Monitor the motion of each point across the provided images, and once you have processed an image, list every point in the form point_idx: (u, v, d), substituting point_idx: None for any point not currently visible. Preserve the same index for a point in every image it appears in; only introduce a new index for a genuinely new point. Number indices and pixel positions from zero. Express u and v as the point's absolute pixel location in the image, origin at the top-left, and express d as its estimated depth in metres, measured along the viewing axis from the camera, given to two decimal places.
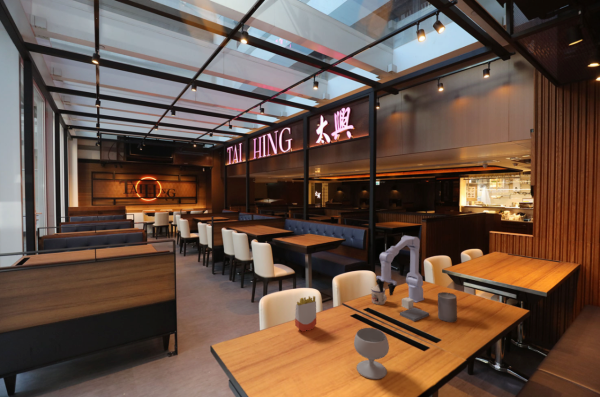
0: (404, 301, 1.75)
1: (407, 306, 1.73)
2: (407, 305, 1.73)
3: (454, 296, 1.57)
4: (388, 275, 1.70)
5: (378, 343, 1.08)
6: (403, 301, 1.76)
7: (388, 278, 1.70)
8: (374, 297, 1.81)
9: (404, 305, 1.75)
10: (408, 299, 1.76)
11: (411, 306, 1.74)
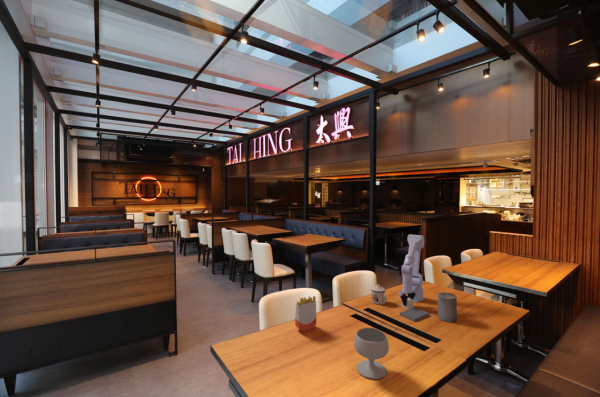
0: None
1: (407, 306, 1.73)
2: (407, 305, 1.73)
3: (454, 296, 1.57)
4: (403, 286, 1.75)
5: (378, 343, 1.08)
6: None
7: (403, 289, 1.76)
8: (374, 297, 1.81)
9: None
10: (408, 299, 1.76)
11: (411, 306, 1.74)
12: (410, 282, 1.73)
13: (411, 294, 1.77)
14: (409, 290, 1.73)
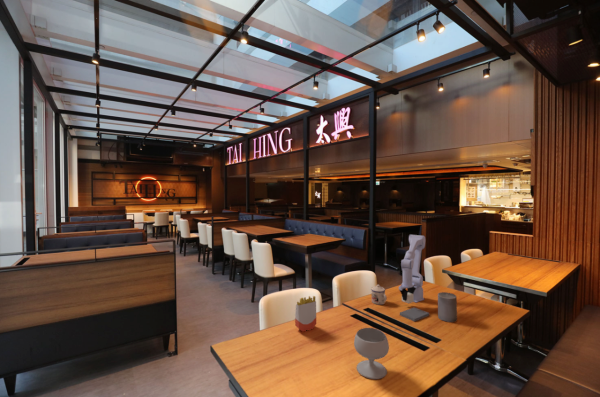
0: None
1: (407, 300, 1.73)
2: (407, 299, 1.73)
3: (454, 296, 1.57)
4: (403, 280, 1.75)
5: (378, 343, 1.08)
6: None
7: (403, 283, 1.76)
8: (374, 297, 1.81)
9: None
10: (408, 293, 1.76)
11: (411, 300, 1.74)
12: (410, 276, 1.73)
13: (411, 288, 1.77)
14: (409, 284, 1.73)
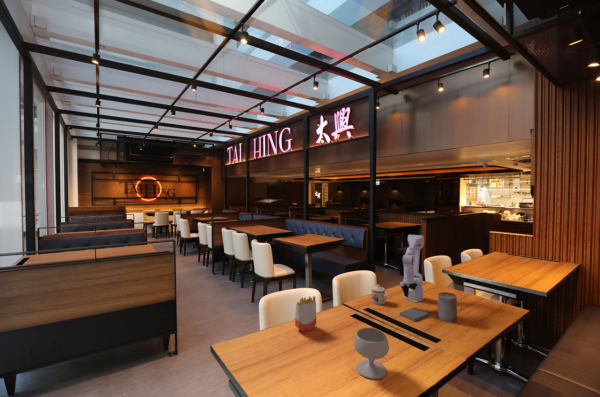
0: None
1: (408, 297, 1.70)
2: (408, 296, 1.70)
3: (454, 296, 1.57)
4: (404, 276, 1.72)
5: (378, 343, 1.08)
6: None
7: (404, 279, 1.73)
8: (374, 297, 1.81)
9: (405, 296, 1.72)
10: (409, 290, 1.73)
11: (412, 297, 1.71)
12: (412, 272, 1.70)
13: (413, 285, 1.73)
14: (410, 280, 1.70)
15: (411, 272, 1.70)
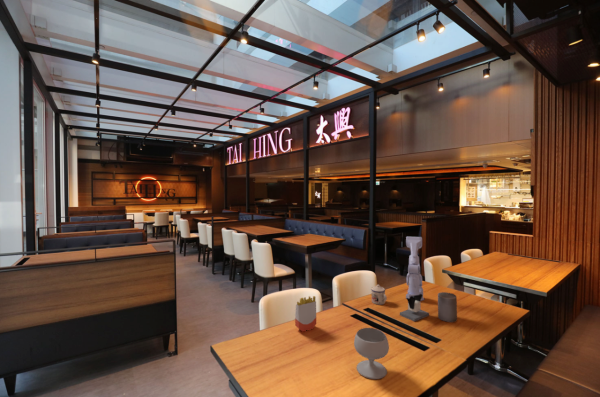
0: None
1: (414, 309, 1.61)
2: (414, 308, 1.61)
3: (454, 296, 1.57)
4: (410, 287, 1.63)
5: (378, 343, 1.08)
6: None
7: (410, 290, 1.63)
8: (374, 297, 1.81)
9: None
10: (415, 301, 1.64)
11: (418, 309, 1.62)
12: (418, 283, 1.61)
13: (418, 296, 1.65)
14: (417, 292, 1.61)
15: (417, 283, 1.61)
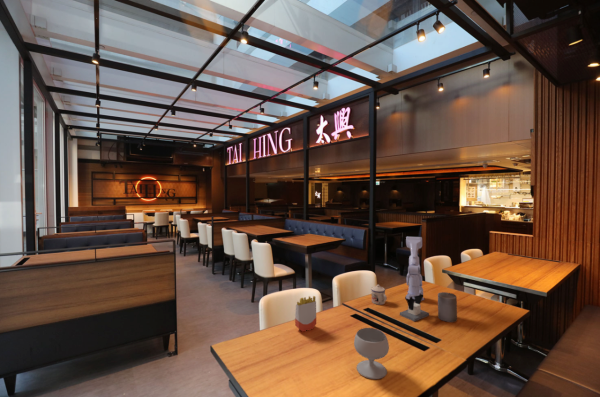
0: None
1: (414, 312, 1.61)
2: (414, 311, 1.61)
3: (454, 296, 1.57)
4: (410, 288, 1.63)
5: (378, 343, 1.08)
6: None
7: (410, 291, 1.63)
8: (374, 297, 1.81)
9: (411, 311, 1.63)
10: (415, 304, 1.64)
11: (418, 312, 1.62)
12: (418, 284, 1.61)
13: (419, 296, 1.65)
14: (417, 292, 1.61)
15: (417, 283, 1.61)
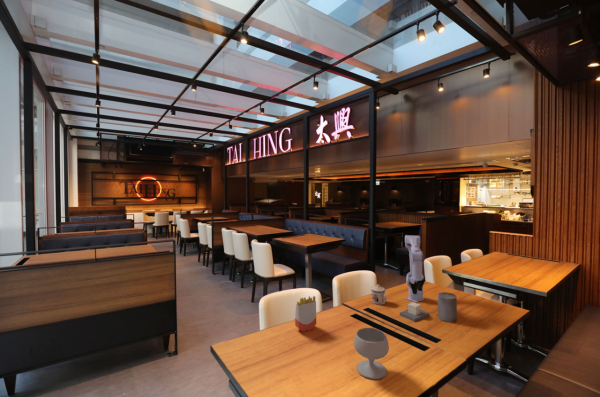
0: (411, 307, 1.63)
1: (414, 312, 1.61)
2: (414, 311, 1.61)
3: (454, 296, 1.57)
4: (414, 273, 1.72)
5: (378, 343, 1.08)
6: (410, 307, 1.63)
7: (413, 276, 1.72)
8: (374, 297, 1.81)
9: (411, 311, 1.63)
10: (415, 304, 1.64)
11: (418, 312, 1.62)
12: (421, 269, 1.71)
13: (421, 281, 1.75)
14: (420, 277, 1.70)
15: (421, 269, 1.70)
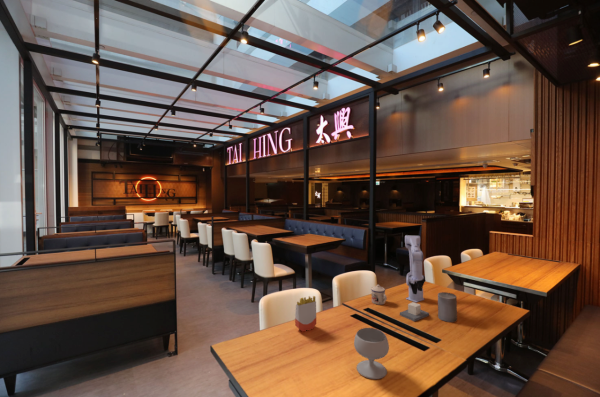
0: (411, 307, 1.63)
1: (414, 312, 1.61)
2: (414, 311, 1.61)
3: (454, 296, 1.57)
4: (414, 273, 1.72)
5: (378, 343, 1.08)
6: (410, 307, 1.63)
7: (413, 276, 1.72)
8: (374, 297, 1.81)
9: (411, 311, 1.63)
10: (415, 304, 1.64)
11: (418, 312, 1.62)
12: (421, 269, 1.71)
13: (421, 281, 1.75)
14: (420, 277, 1.70)
15: (421, 269, 1.70)
